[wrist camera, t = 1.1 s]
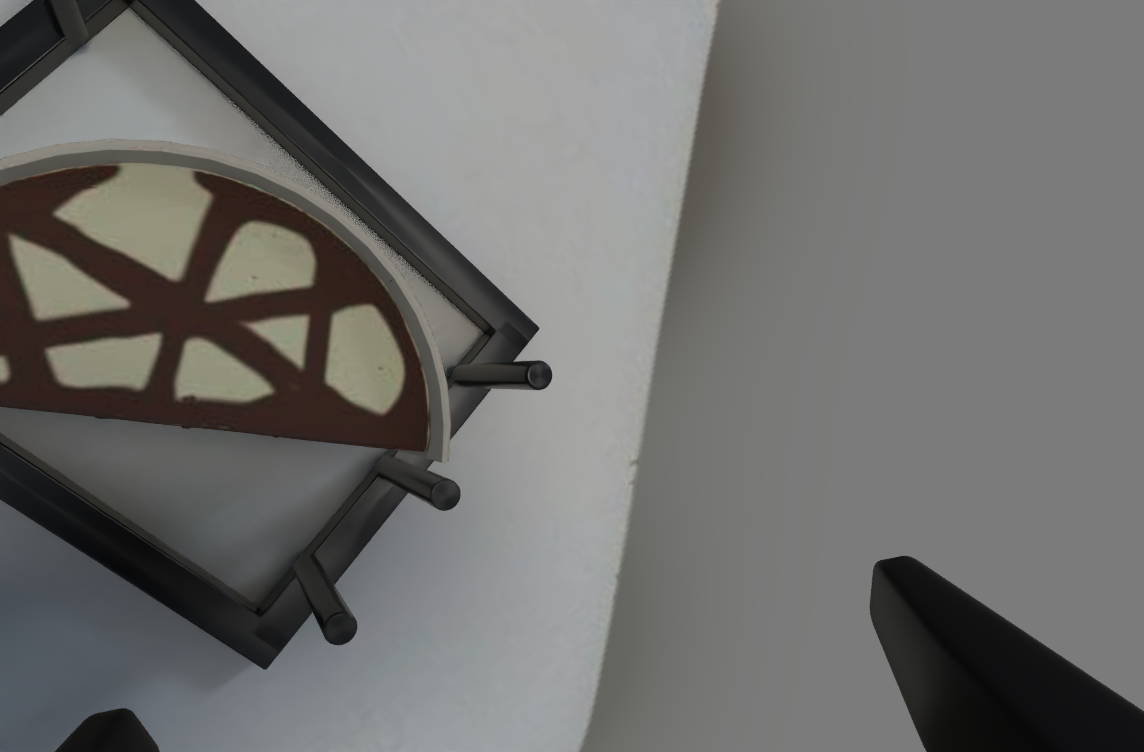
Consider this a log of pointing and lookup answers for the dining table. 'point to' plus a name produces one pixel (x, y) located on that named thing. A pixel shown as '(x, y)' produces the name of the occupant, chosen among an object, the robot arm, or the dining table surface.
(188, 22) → the drying rack
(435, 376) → the food container
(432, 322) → the dining table surface
